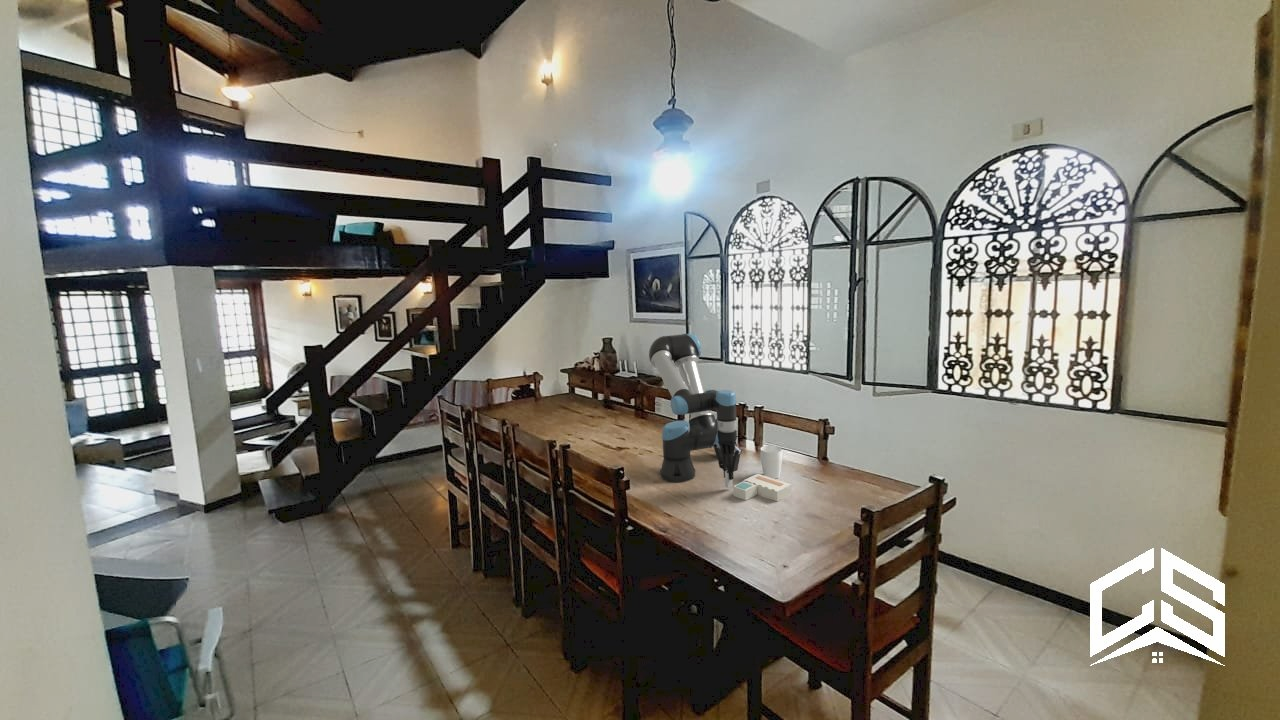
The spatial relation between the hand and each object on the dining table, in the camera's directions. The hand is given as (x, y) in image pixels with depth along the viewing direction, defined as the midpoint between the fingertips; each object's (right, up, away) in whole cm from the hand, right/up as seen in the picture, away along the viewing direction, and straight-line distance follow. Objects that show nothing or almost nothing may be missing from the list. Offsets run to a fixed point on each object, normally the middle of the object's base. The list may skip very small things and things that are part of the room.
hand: (728, 486), depth 210 cm
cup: (+20, +1, +11) cm, 23 cm away
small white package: (+14, -1, -4) cm, 15 cm away
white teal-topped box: (+5, -2, -6) cm, 8 cm away
